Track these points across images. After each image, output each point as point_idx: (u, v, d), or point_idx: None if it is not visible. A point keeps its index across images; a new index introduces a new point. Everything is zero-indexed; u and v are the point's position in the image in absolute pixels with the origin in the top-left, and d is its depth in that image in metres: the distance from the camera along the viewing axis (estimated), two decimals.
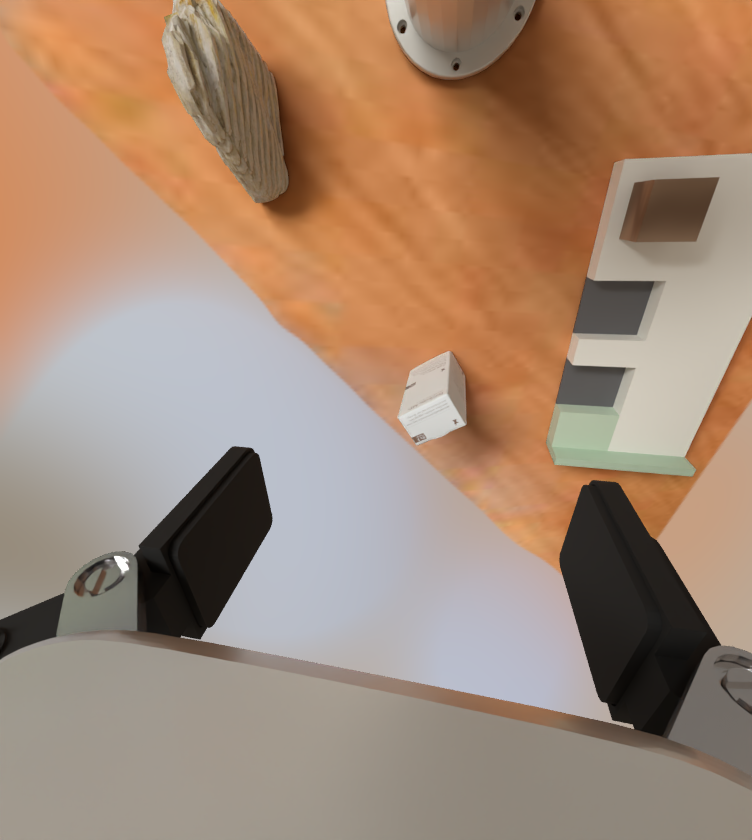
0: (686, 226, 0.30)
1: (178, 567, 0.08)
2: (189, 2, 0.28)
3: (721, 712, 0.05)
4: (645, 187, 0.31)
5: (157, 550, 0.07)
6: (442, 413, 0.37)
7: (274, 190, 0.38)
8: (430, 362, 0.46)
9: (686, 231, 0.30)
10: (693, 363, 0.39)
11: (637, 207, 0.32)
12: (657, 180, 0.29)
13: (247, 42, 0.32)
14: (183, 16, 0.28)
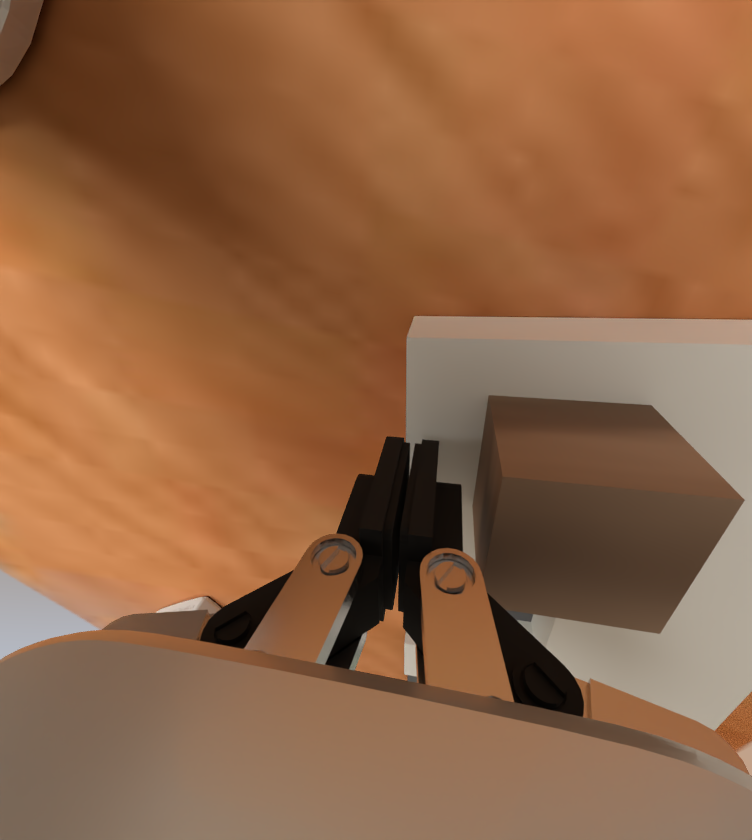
0: (626, 599, 0.09)
1: (387, 549, 0.08)
2: None
3: (443, 608, 0.07)
4: (493, 454, 0.09)
5: (378, 532, 0.08)
6: None
7: None
8: None
9: (627, 609, 0.09)
10: None
11: (485, 491, 0.10)
12: (511, 480, 0.08)
13: None
14: None
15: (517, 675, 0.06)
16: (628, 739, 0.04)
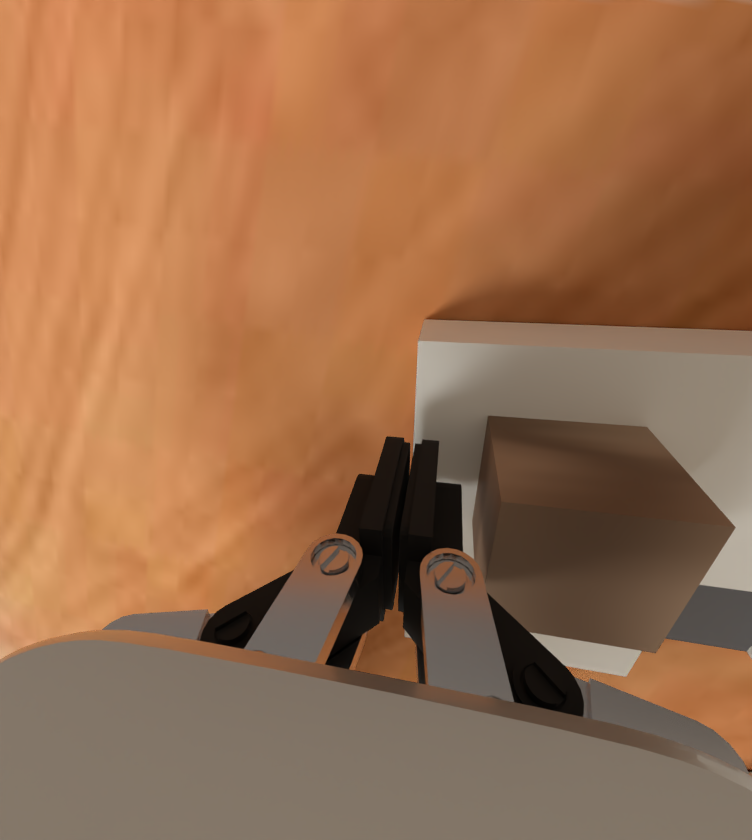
0: (652, 557, 0.08)
1: (387, 549, 0.08)
2: None
3: (443, 608, 0.07)
4: None
5: (378, 532, 0.08)
6: None
7: None
8: None
9: (674, 556, 0.08)
10: None
11: None
12: None
13: None
14: None
15: (517, 675, 0.06)
16: (628, 739, 0.04)
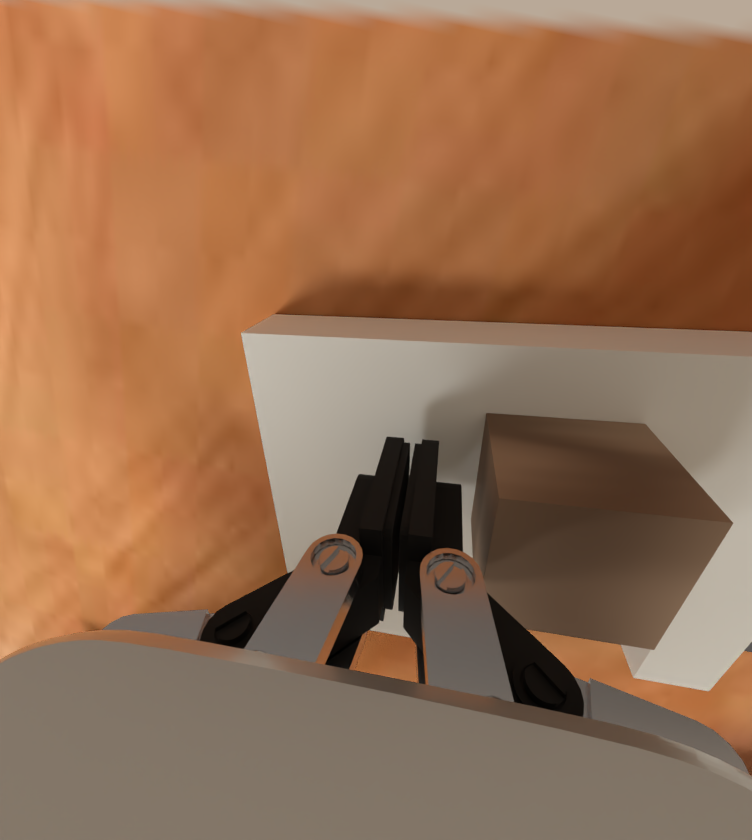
0: (650, 553, 0.08)
1: (387, 549, 0.08)
2: None
3: (443, 608, 0.07)
4: None
5: (378, 532, 0.08)
6: None
7: None
8: None
9: (672, 552, 0.08)
10: None
11: None
12: None
13: None
14: None
15: (517, 675, 0.06)
16: (628, 739, 0.04)
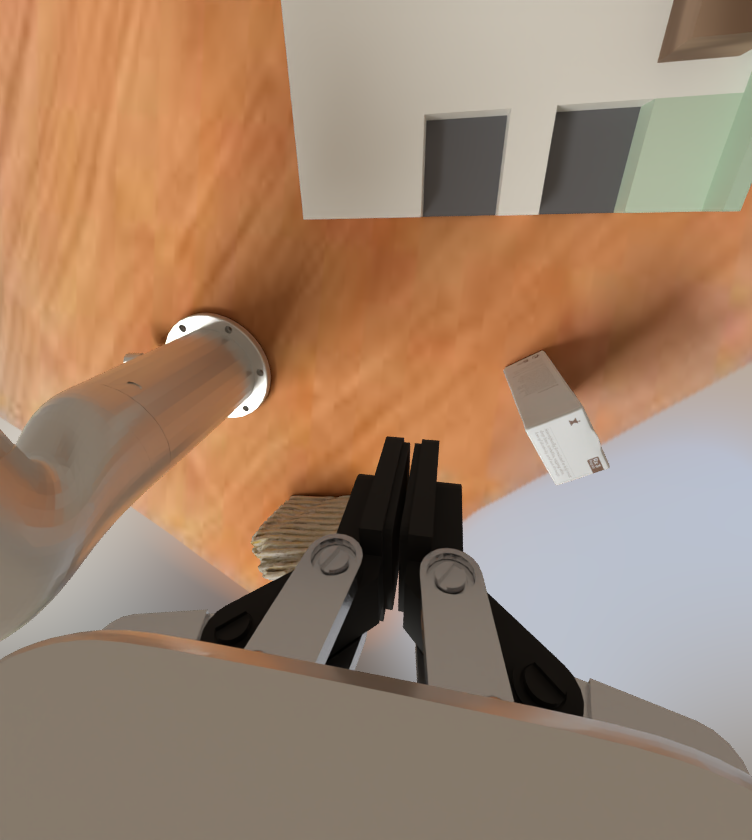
0: None
1: (387, 549, 0.08)
2: (255, 553, 0.47)
3: (443, 608, 0.07)
4: (686, 47, 0.21)
5: (378, 532, 0.08)
6: (556, 436, 0.27)
7: None
8: None
9: None
10: None
11: (713, 46, 0.21)
12: (694, 32, 0.20)
13: (273, 516, 0.49)
14: None
15: (517, 675, 0.06)
16: (628, 739, 0.04)
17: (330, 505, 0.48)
